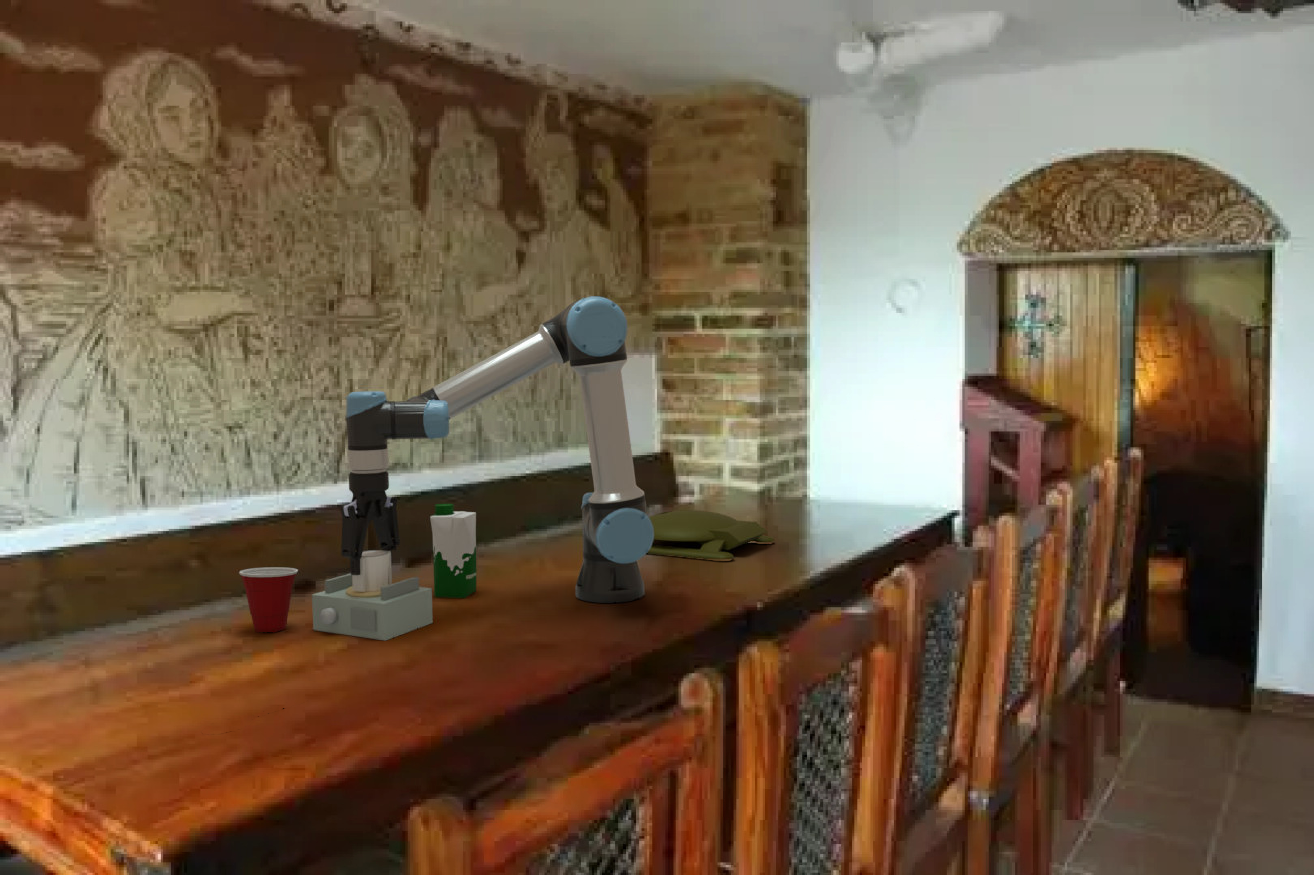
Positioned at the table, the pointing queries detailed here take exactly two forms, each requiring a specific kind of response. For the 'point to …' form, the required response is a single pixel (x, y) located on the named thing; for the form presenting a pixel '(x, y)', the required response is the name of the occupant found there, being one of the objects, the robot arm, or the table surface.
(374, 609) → the portable stove
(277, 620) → the plastic cup
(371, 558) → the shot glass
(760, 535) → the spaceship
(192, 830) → the table surface
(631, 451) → the robot arm
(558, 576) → the table surface
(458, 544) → the milk carton
